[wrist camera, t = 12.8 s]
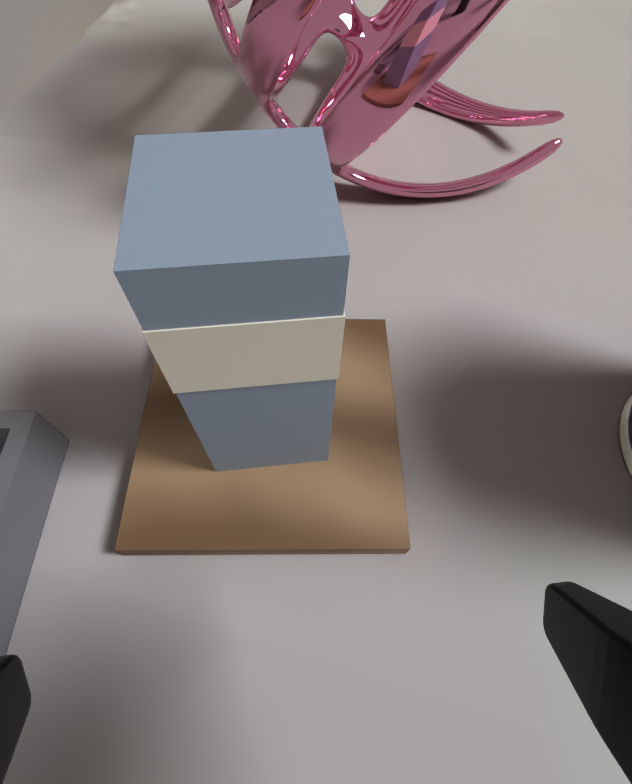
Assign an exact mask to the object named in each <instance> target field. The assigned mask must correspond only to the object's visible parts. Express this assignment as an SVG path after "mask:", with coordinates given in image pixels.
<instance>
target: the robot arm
mask: <svg viewBox="0 0 632 784" xmlns="http://www.w3.org/2000/svg"><path fill="white" fill-rule="evenodd" d="M543 625H544V630H545V633H546V636H547V638H548V640H549V642H550V644H551V646H552V648H553V649H554V651H555V653H556V655H557V657H558V659H559V661H560V663H561V664H562V666H563V668H564V670H565V672H566V674H567V676H568V678H569V679H570V681H571V683H572V685H573V687H574V689H575V691H576V692H577V694H578V696H579V698H580V700H581V702H582V704H583V706H584V707H585V709H586V711H587V713H588V715H589V717H590V718H591V720H592V722H593V724H594V726H595V727H596V729H597V731H598V732H599V734H600V736H601V737H602V739H603V740H604V742H605V744H606V745H607V747H608V748H609V750H610V752H611V753H612V755H613V756H614V758H615V759H616V761H617V762H618V764H619V765H620V767H621V769H622V770H623V772H624V773H625V775H626V776H627V778H628V779H629V781H630V782H631V784H632V611H631V610H629V609H627V608H625V607H623V606H621V605H619V604H617V603H615V602H612V601H610V600H608V599H606V598H604V597H602V596H600V595H598V594H596V593H594V592H592V591H590V590H588V589H586V588H584V587H582V586H580V585H578V584H576V583H573V582H567V581H566V582H559V583H551V584H549V585H548V586H547V587H546V590H545V601H544V616H543ZM30 704H31V693H30V689H29V685H28V682H27V678H26V675H25V672H24V668H23V665H22V662H21V659H20V658H19V657H18V656H17V655H5V656H0V784H3V781H4V778H5V775H6V773H7V770H8V767H9V764H10V762H11V759H12V756H13V754H14V751H15V748H16V745H17V743H18V740H19V737H20V734H21V732H22V729H23V726H24V723H25V721H26V718H27V715H28V712H29V709H30Z"/></svg>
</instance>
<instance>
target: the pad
mask: <svg viewBox="0 0 632 784" xmlns="http://www.w3.org/2000/svg"><path fill="white" fill-rule="evenodd" d="M409 550H410V541H409V532H408V523H407V514H406V505H405V496H404V487H403V478H402V469H401V460H400V451H399V442H398V433H397V424H396V415H395V406H394V398H393V389H392V380H391V371H390V362H389V353H388V344H387V335H386V326H385V320H378V319H345V326H344V335H343V344H342V353H341V362H340V370H339V379H337V380H336V389H335V399H334V408H333V418H332V427H331V436H330V446H329V455H328V460H326V461H316V462H306V463H297V464H287V465H277V466H267V467H257V468H248V469H238V470H228V471H218V472H216V470H215V469H214V467H213V465H212V463H211V461H210V459H209V457H208V455H207V453H206V451H205V449H204V447H203V445H202V443H201V441H200V439H199V437H198V435H197V433H196V432H195V430H194V428H193V426H192V424H191V422H190V420H189V418H188V416H187V414H186V412H185V410H184V408H183V406H182V404H181V402H180V400H179V398H178V396H177V394H176V393H175V394H173V392H172V390H171V388H170V386H169V384H168V382H167V380H166V378H165V376H164V374H163V373H162V371H161V369H160V367H159V365H158V363H157V361H156V359H155V361H154V366H153V371H152V375H151V380H150V385H149V390H148V394H147V399H146V404H145V408H144V413H143V418H142V423H141V427H140V432H139V437H138V441H137V446H136V451H135V456H134V460H133V465H132V470H131V474H130V479H129V484H128V489H127V493H126V498H125V503H124V507H123V512H122V517H121V522H120V526H119V531H118V536H117V540H116V545H115V550H114V551H116V552H118V553H120V554H122V555H223V554H389V553H407V552H408V551H409Z"/></svg>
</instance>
